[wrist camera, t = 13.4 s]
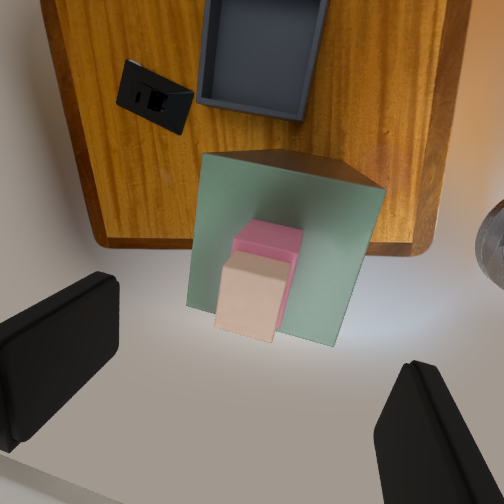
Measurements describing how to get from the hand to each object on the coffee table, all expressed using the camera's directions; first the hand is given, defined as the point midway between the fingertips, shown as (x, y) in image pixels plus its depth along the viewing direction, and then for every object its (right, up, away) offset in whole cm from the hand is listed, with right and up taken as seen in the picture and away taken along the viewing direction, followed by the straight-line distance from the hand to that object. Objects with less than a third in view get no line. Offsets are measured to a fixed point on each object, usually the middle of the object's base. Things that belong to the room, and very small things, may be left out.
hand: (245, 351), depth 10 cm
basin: (+2, +32, +34) cm, 47 cm away
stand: (+9, +14, +39) cm, 42 cm away
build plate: (-16, +29, +40) cm, 51 cm away
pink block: (+1, +3, +8) cm, 9 cm away
